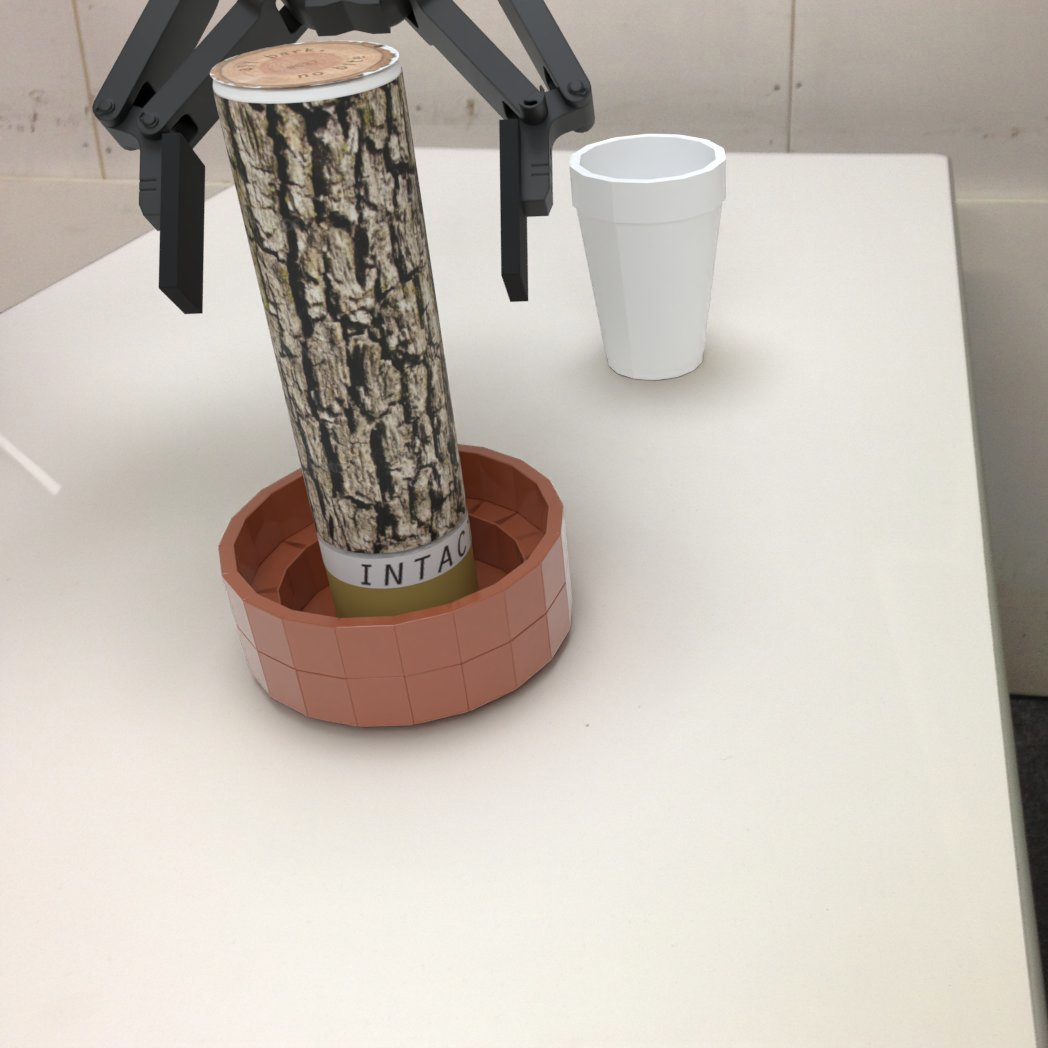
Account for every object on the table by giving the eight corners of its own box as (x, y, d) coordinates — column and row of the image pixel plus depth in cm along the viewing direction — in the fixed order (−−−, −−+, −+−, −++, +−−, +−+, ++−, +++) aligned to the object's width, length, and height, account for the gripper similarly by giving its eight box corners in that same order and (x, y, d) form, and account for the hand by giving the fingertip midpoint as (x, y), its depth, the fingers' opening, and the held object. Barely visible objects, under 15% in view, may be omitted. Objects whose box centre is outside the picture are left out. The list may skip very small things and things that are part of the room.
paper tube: (312, 620, 62) (175, 67, 46) (428, 562, 65) (335, 31, 50) (392, 682, 58) (270, 99, 42) (511, 617, 61) (437, 57, 46)
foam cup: (738, 333, 87) (738, 135, 79) (713, 395, 80) (711, 185, 72) (603, 325, 89) (590, 132, 81) (567, 385, 82) (549, 179, 74)
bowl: (212, 743, 56) (176, 633, 52) (289, 548, 68) (263, 448, 64) (565, 731, 55) (553, 619, 52) (578, 537, 68) (569, 436, 64)
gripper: (644, -132, 58) (657, 318, 55) (99, -106, 59) (85, 339, 56) (638, -270, 50) (653, 242, 48) (14, -239, 51) (-6, 268, 48)
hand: (347, 296), depth 52 cm, fingers open, 13 cm apart
